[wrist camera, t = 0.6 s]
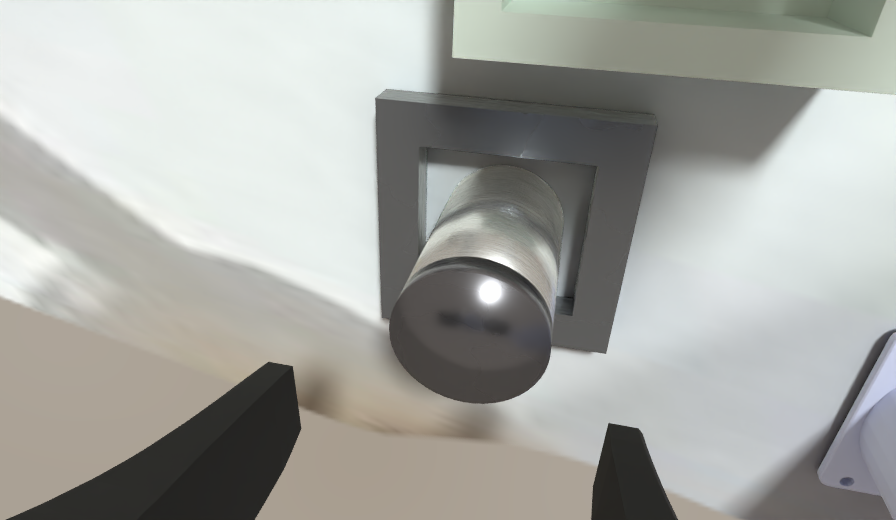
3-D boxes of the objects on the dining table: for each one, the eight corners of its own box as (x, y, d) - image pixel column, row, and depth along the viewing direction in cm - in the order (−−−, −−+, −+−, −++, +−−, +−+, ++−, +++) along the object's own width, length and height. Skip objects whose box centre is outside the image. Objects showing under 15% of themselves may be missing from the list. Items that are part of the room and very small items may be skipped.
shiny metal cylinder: (571, 172, 20) (561, 285, 14) (555, 278, 23) (540, 415, 16) (448, 158, 21) (387, 260, 15) (445, 262, 23) (390, 388, 17)
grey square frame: (654, 114, 19) (657, 125, 18) (605, 334, 23) (605, 353, 22) (386, 89, 20) (375, 97, 19) (390, 301, 25) (381, 317, 24)
